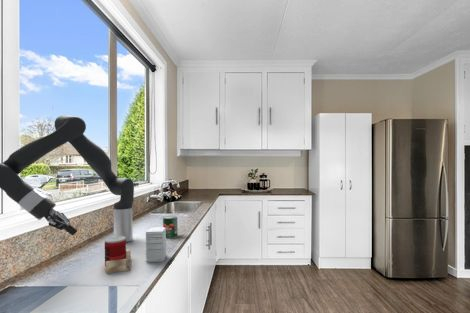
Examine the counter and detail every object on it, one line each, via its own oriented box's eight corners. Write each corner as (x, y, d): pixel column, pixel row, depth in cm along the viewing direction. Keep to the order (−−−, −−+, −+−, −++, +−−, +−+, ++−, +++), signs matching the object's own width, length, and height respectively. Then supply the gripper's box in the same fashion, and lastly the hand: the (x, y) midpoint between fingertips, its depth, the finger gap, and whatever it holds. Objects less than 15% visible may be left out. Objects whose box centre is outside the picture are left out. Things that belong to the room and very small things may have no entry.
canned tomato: (163, 239, 149) (162, 218, 149) (163, 235, 156) (162, 215, 156) (178, 237, 151) (177, 217, 151) (177, 234, 158) (177, 214, 158)
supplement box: (149, 256, 122) (149, 227, 122) (166, 255, 123) (166, 226, 123) (145, 262, 115) (145, 231, 115) (163, 261, 116) (163, 231, 116)
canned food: (130, 263, 114) (129, 236, 114) (117, 270, 107) (116, 242, 107) (114, 261, 116) (113, 235, 116) (100, 269, 109) (100, 240, 109)
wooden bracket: (105, 273, 104) (105, 262, 104) (109, 261, 116) (109, 252, 116) (130, 269, 107) (129, 259, 107) (130, 258, 119) (130, 249, 119)
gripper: (39, 199, 98) (79, 229, 102) (50, 194, 110) (86, 221, 115) (22, 215, 96) (63, 246, 100) (35, 208, 109) (71, 236, 113)
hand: (75, 233), depth 107 cm, fingers closed
